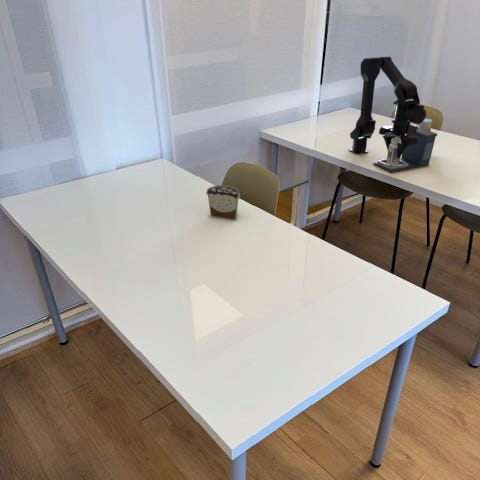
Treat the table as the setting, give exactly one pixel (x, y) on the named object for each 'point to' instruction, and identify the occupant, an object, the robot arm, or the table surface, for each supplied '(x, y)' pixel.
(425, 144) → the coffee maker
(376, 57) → the robot arm
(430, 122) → the bottle
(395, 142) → the pill bottle
